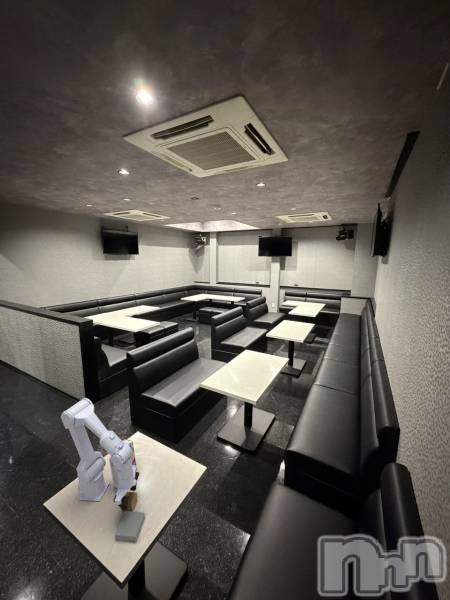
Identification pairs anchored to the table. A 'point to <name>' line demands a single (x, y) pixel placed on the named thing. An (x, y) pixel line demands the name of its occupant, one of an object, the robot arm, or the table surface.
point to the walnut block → (131, 501)
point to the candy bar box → (114, 471)
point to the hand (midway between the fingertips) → (129, 499)
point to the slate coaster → (130, 526)
